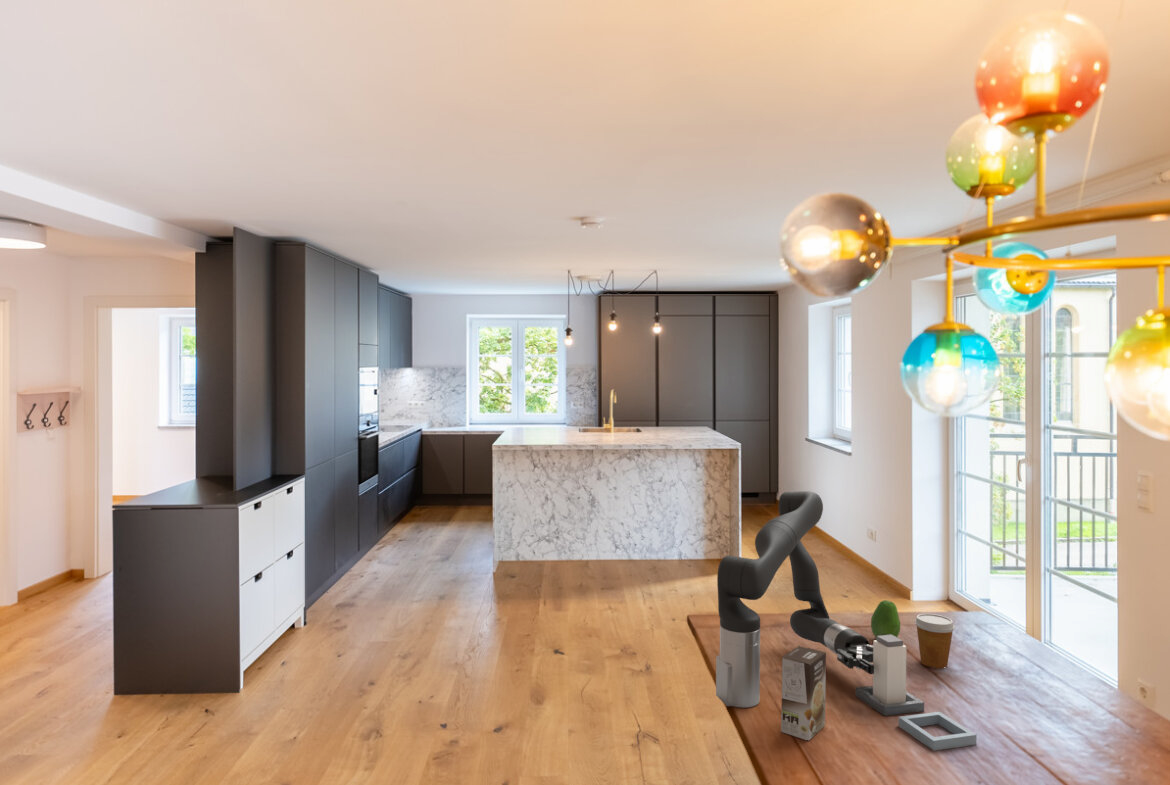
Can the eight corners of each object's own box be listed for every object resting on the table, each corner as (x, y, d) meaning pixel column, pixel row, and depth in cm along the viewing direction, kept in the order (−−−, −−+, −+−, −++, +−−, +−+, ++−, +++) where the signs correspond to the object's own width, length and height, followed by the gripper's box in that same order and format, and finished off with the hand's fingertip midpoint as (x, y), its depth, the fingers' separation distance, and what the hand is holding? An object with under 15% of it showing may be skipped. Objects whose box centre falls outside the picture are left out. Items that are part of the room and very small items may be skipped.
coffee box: (809, 742, 144) (810, 664, 144) (780, 732, 148) (780, 657, 148) (825, 725, 151) (826, 651, 151) (797, 716, 155) (798, 644, 155)
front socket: (933, 750, 141) (933, 740, 141) (898, 726, 151) (898, 716, 151) (976, 744, 143) (976, 734, 143) (939, 720, 153) (939, 711, 153)
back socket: (884, 716, 155) (884, 707, 155) (855, 695, 165) (855, 687, 165) (924, 711, 158) (924, 702, 158) (893, 691, 168) (893, 683, 168)
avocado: (905, 646, 197) (906, 603, 197) (880, 647, 196) (880, 605, 196) (889, 635, 205) (890, 595, 205) (864, 637, 204) (865, 596, 204)
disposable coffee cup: (962, 668, 182) (963, 622, 182) (935, 673, 178) (936, 627, 178) (932, 654, 191) (932, 611, 191) (906, 659, 187) (906, 615, 187)
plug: (886, 709, 158) (887, 643, 158) (872, 699, 163) (873, 635, 163) (905, 707, 160) (906, 641, 159) (891, 697, 165) (891, 633, 164)
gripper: (821, 630, 176) (862, 655, 160) (870, 626, 179) (915, 649, 163) (821, 660, 176) (862, 687, 160) (870, 655, 179) (914, 681, 163)
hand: (888, 668), depth 162 cm, fingers open, 8 cm apart
